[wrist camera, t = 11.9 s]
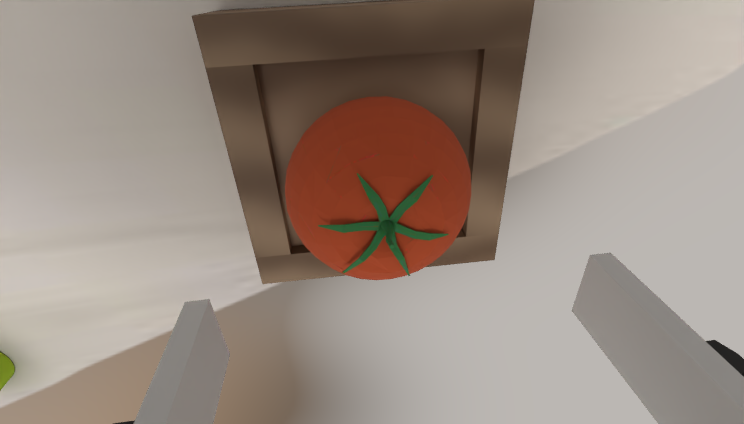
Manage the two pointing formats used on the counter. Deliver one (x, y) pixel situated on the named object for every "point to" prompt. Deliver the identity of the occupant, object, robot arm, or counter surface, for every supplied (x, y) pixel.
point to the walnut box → (359, 80)
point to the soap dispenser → (5, 369)
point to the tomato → (378, 188)
